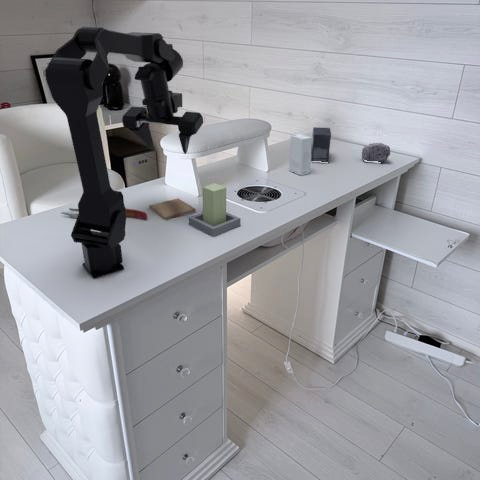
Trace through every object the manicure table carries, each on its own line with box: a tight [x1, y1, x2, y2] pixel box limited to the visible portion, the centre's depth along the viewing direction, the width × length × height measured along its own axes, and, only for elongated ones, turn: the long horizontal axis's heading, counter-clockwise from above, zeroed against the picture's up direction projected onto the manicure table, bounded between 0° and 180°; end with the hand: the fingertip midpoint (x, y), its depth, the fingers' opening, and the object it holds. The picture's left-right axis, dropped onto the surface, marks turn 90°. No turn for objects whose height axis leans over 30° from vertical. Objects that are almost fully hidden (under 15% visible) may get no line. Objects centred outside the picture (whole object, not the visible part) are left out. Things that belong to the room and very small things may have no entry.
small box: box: [310, 127, 332, 163], centre depth 158 cm, size 11×6×10 cm, turn 172°
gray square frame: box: [188, 211, 241, 238], centre depth 108 cm, size 9×9×2 cm
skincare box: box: [288, 133, 312, 176], centre depth 143 cm, size 6×4×12 cm
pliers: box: [60, 207, 148, 234], centre depth 109 cm, size 12×21×3 cm, turn 69°
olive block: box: [201, 182, 227, 227], centre depth 106 cm, size 4×4×10 cm
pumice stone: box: [361, 142, 391, 163], centre depth 158 cm, size 10×8×10 cm
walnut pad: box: [148, 198, 197, 221], centre depth 116 cm, size 9×9×1 cm
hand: (168, 150), depth 109 cm, fingers open, 9 cm apart
